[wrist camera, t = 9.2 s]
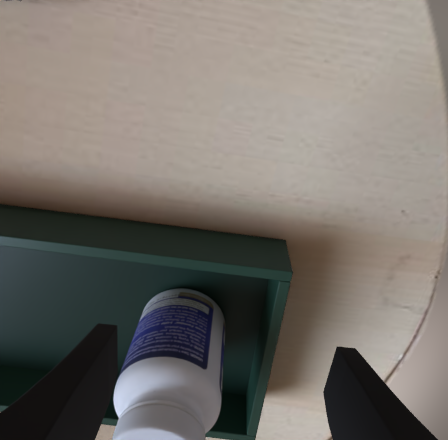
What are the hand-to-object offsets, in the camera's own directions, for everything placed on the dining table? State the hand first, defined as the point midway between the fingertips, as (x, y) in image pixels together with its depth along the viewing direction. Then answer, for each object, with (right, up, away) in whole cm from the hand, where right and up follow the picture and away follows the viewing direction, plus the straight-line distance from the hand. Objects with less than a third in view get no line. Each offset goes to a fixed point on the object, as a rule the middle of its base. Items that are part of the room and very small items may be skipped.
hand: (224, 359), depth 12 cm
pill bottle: (-3, -2, +12) cm, 12 cm away
